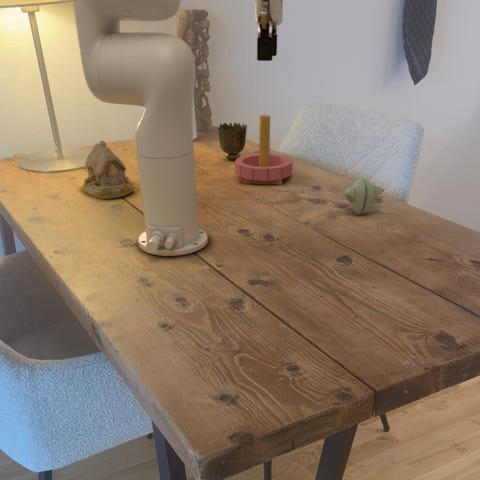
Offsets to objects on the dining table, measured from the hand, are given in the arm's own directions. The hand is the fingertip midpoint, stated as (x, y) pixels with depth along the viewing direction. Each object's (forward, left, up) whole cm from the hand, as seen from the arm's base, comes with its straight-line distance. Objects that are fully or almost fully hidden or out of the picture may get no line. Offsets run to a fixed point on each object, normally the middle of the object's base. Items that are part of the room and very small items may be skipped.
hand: (267, 58), depth 123 cm
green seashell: (-28, -22, -24) cm, 43 cm away
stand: (-5, 0, -24) cm, 24 cm away
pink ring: (-5, 0, -22) cm, 23 cm away
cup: (+11, +10, -24) cm, 28 cm away
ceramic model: (-17, +34, -24) cm, 45 cm away
